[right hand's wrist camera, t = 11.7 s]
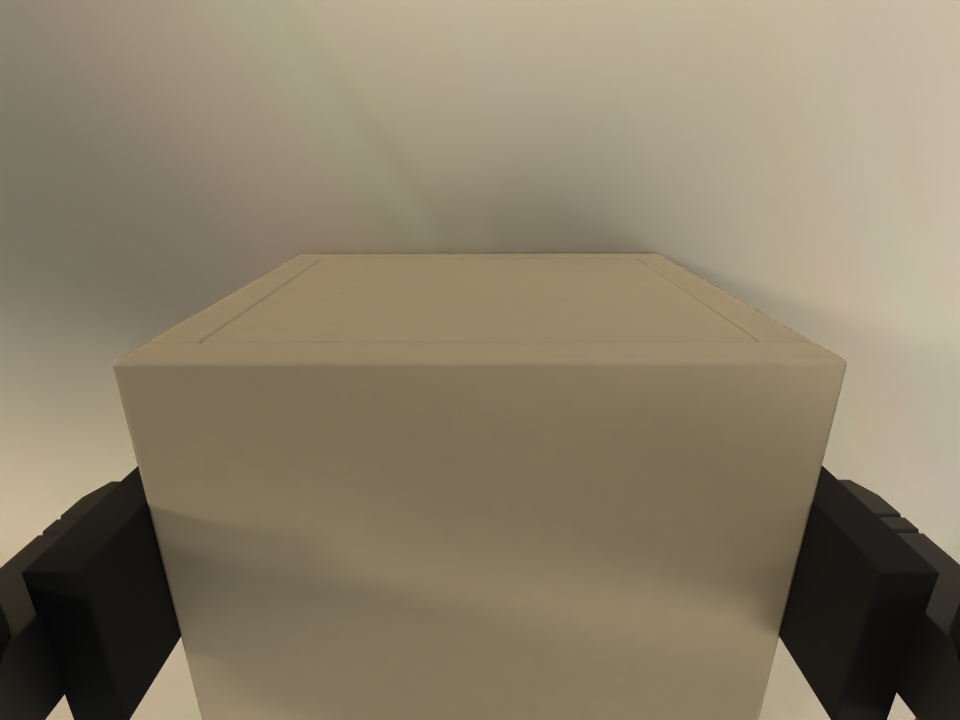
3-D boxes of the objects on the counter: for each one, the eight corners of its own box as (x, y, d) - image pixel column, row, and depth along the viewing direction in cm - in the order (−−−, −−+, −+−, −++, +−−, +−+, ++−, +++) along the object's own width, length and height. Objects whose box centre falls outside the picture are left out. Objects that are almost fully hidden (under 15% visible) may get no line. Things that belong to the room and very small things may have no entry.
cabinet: (605, 735, 23) (675, 1059, 14) (355, 736, 23) (286, 1060, 14) (659, 252, 16) (850, 360, 8) (299, 253, 16) (108, 361, 8)
